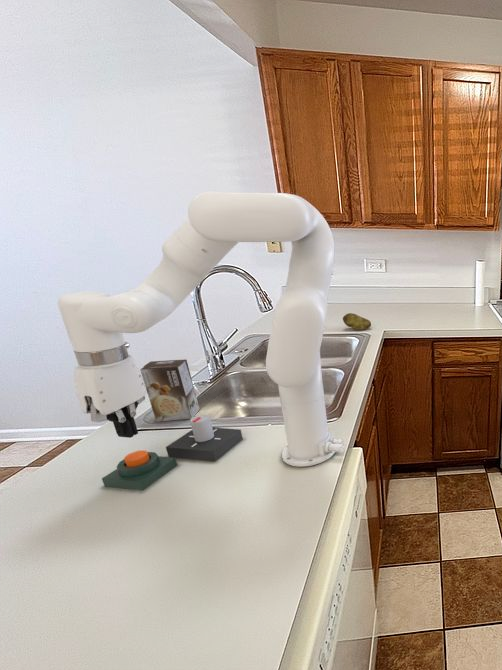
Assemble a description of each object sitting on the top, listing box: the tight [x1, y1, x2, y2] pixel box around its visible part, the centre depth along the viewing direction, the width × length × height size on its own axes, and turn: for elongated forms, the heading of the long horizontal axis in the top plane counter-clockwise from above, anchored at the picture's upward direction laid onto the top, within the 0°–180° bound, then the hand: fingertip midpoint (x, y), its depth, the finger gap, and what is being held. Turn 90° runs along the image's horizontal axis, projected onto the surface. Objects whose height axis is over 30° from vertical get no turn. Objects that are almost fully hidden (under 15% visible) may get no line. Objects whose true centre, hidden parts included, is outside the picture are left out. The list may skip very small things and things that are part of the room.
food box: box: [139, 358, 200, 423], centre depth 111 cm, size 9×6×16 cm
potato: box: [342, 312, 372, 331], centre depth 198 cm, size 8×13×8 cm, turn 81°
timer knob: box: [189, 414, 214, 442], centre depth 97 cm, size 4×4×6 cm
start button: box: [123, 449, 150, 467], centre depth 87 cm, size 4×4×2 cm
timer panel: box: [165, 426, 243, 463], centre depth 99 cm, size 12×10×3 cm
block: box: [101, 451, 178, 491], centre depth 88 cm, size 9×9×4 cm
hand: (128, 435), depth 85 cm, fingers closed
